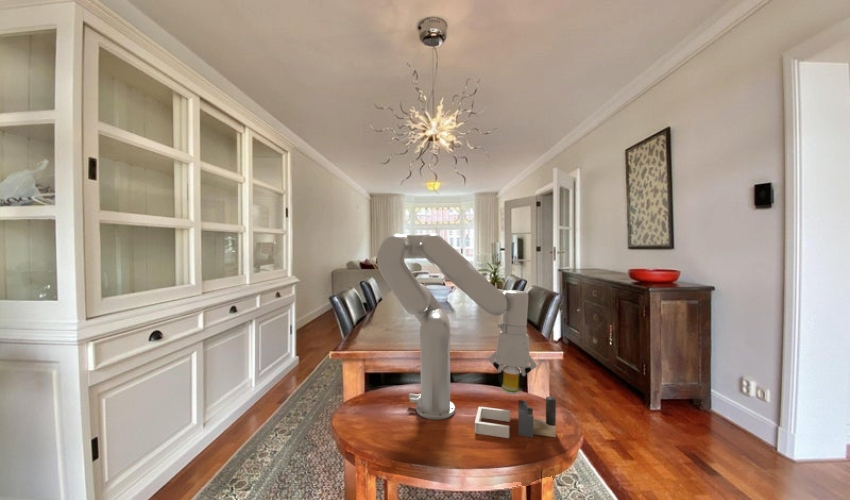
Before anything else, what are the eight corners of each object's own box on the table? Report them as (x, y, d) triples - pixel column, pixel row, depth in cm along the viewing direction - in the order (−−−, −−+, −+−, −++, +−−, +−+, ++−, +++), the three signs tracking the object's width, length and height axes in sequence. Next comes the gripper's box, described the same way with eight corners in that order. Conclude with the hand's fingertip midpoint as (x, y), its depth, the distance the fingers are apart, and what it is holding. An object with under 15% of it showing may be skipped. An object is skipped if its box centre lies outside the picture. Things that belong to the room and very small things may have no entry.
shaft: (525, 433, 96) (525, 398, 95) (525, 427, 98) (525, 393, 98) (556, 437, 93) (556, 401, 93) (555, 431, 96) (555, 396, 96)
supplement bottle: (519, 395, 105) (521, 364, 105) (501, 393, 106) (503, 362, 106) (518, 388, 110) (520, 359, 110) (501, 386, 112) (503, 357, 111)
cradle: (474, 433, 96) (474, 422, 96) (478, 415, 106) (478, 406, 106) (509, 438, 93) (509, 427, 93) (510, 420, 103) (510, 410, 103)
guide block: (518, 435, 95) (518, 409, 95) (518, 424, 100) (518, 400, 100) (533, 437, 94) (533, 411, 94) (532, 426, 99) (532, 401, 99)
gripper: (486, 328, 107) (482, 385, 107) (543, 335, 102) (539, 394, 102) (488, 323, 114) (484, 376, 114) (541, 329, 109) (537, 385, 110)
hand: (510, 384), depth 108 cm, fingers closed on supplement bottle, 5 cm apart
